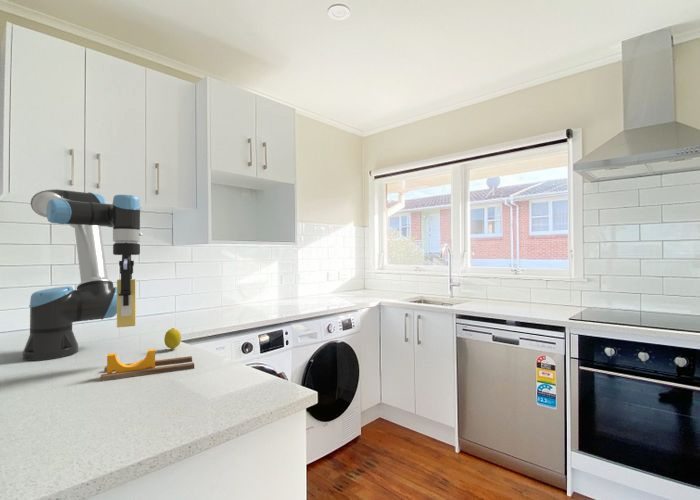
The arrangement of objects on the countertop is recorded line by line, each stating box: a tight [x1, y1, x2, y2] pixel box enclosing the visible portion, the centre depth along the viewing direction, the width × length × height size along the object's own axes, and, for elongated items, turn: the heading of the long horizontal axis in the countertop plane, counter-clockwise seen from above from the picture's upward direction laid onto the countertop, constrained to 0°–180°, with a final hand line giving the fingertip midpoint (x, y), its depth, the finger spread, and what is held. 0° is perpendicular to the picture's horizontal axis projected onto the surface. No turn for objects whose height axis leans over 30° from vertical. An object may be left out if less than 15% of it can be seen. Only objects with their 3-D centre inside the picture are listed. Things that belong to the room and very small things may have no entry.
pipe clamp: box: [106, 348, 156, 374], centre depth 109 cm, size 12×4×6 cm, turn 118°
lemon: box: [164, 327, 182, 351], centre depth 135 cm, size 6×6×8 cm
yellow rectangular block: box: [116, 278, 137, 328], centre depth 119 cm, size 4×5×15 cm
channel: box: [99, 355, 195, 382], centre depth 112 cm, size 10×24×1 cm, turn 118°
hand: (126, 314), depth 119 cm, fingers closed on yellow rectangular block, 3 cm apart
